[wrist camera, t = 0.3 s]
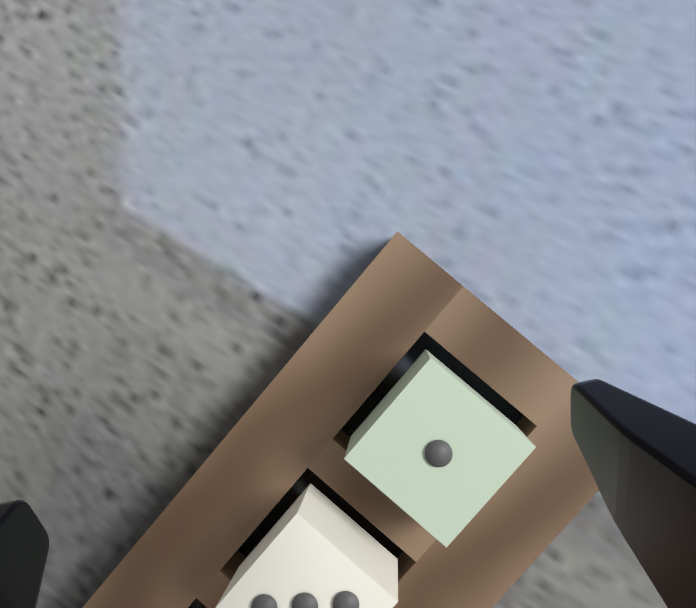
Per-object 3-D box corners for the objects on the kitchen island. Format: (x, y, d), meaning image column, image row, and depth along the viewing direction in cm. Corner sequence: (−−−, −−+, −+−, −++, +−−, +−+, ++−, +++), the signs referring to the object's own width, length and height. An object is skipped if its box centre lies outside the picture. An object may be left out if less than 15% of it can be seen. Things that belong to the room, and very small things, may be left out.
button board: (623, 425, 22) (646, 438, 20) (252, 836, 24) (239, 885, 22) (397, 236, 23) (397, 231, 21) (50, 650, 25) (20, 681, 23)
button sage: (515, 425, 21) (536, 448, 18) (439, 511, 21) (446, 548, 18) (425, 348, 21) (430, 358, 18) (350, 435, 22) (343, 459, 18)
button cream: (397, 559, 22) (398, 603, 18) (324, 641, 22) (312, 699, 19) (310, 483, 22) (296, 514, 19) (239, 566, 22) (213, 610, 19)
